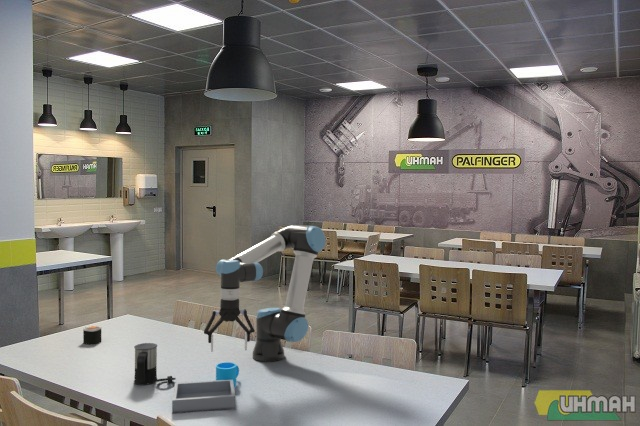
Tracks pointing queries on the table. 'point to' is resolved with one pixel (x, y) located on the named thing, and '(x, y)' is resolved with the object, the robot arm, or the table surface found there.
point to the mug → (227, 371)
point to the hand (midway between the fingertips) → (228, 350)
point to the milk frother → (147, 364)
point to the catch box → (203, 396)
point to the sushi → (92, 335)
